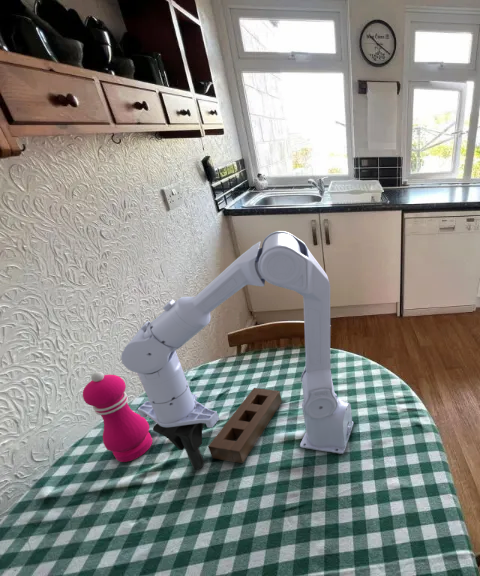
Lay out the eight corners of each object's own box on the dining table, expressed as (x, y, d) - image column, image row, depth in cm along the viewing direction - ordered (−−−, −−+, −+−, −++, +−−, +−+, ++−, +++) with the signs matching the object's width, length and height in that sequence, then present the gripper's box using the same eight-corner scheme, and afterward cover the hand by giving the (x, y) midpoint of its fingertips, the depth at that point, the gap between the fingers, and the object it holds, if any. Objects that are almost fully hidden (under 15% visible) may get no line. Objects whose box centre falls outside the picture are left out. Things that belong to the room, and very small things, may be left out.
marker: (207, 460, 62) (194, 428, 58) (199, 470, 60) (186, 438, 56) (197, 459, 62) (184, 427, 59) (190, 469, 61) (176, 436, 57)
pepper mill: (133, 467, 61) (91, 389, 53) (103, 461, 62) (57, 384, 54) (163, 436, 67) (130, 362, 59) (136, 431, 69) (99, 358, 60)
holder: (282, 401, 76) (279, 390, 75) (242, 463, 62) (239, 451, 60) (256, 398, 77) (253, 387, 76) (212, 458, 63) (207, 446, 61)
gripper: (221, 380, 56) (238, 433, 61) (152, 371, 58) (174, 423, 64) (193, 410, 49) (214, 467, 55) (116, 399, 52) (144, 454, 58)
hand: (191, 446), depth 59 cm, fingers closed on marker, 2 cm apart
